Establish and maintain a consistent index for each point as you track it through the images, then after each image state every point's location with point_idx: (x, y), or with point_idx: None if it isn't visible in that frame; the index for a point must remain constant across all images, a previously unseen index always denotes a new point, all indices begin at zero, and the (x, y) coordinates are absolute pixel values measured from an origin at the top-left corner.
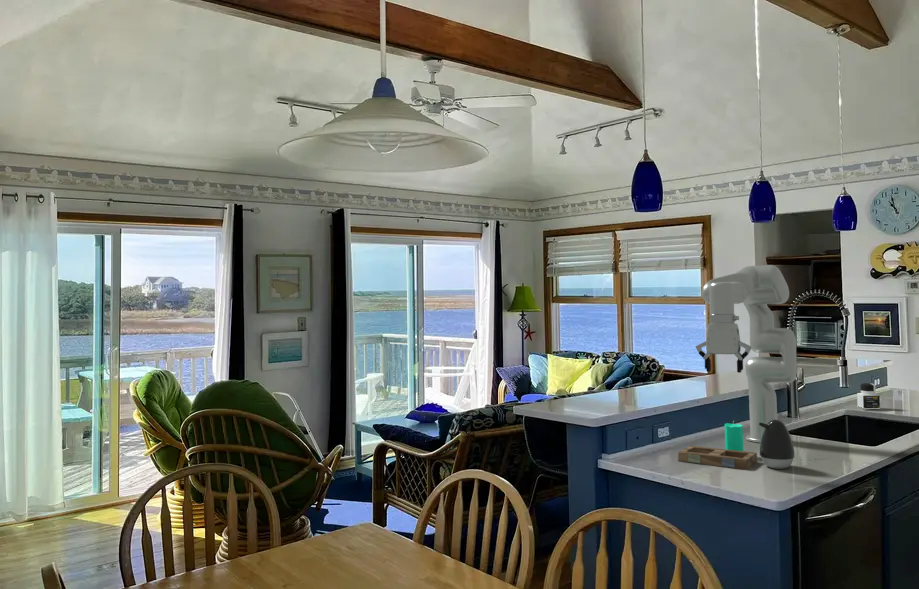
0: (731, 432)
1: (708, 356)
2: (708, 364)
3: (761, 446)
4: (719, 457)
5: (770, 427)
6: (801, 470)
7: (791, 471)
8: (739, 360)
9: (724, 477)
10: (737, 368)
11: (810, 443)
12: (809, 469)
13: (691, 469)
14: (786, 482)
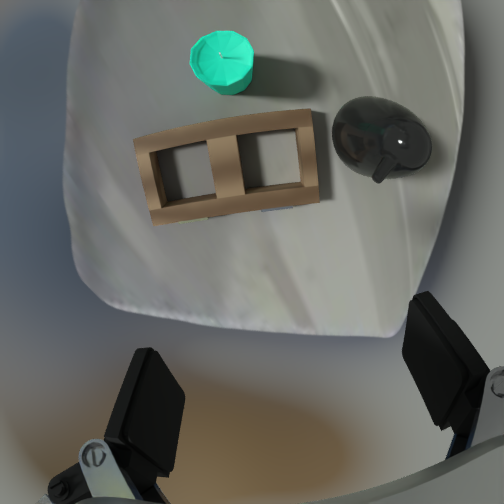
0: (229, 87)
1: (167, 500)
2: (176, 440)
3: (352, 164)
4: (254, 209)
5: (400, 172)
6: None
7: None
8: (458, 413)
9: (301, 279)
10: (414, 375)
11: None
12: None
13: (221, 264)
14: (399, 244)
